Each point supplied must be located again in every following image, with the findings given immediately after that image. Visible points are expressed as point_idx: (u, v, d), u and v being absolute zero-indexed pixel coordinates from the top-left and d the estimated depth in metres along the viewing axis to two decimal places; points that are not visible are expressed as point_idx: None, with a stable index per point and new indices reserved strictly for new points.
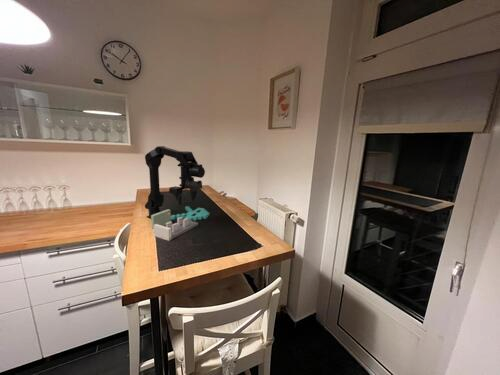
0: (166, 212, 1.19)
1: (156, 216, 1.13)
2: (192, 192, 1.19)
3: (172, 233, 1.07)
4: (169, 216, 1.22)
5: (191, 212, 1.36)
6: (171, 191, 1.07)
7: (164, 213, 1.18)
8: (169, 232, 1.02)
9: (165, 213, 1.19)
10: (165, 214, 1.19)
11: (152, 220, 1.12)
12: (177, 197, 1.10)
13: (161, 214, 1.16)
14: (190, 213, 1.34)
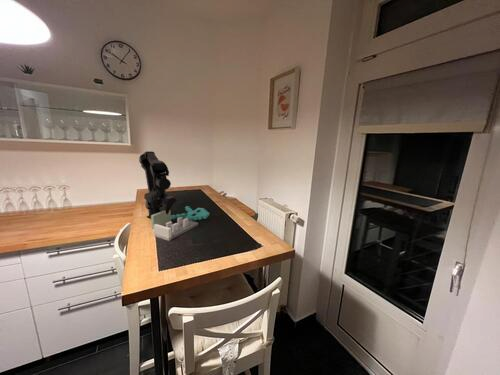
0: None
1: (156, 216, 1.13)
2: None
3: (172, 233, 1.07)
4: (169, 216, 1.22)
5: (191, 212, 1.36)
6: None
7: (164, 213, 1.18)
8: (169, 232, 1.02)
9: (165, 213, 1.19)
10: (165, 214, 1.19)
11: (152, 220, 1.12)
12: None
13: (161, 214, 1.16)
14: (190, 213, 1.34)
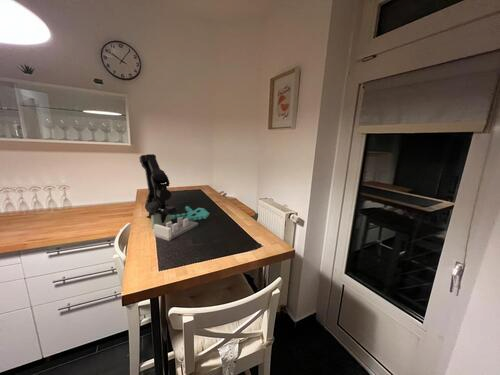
0: None
1: (156, 216, 1.13)
2: None
3: (172, 233, 1.07)
4: (169, 216, 1.22)
5: (191, 212, 1.36)
6: None
7: None
8: (169, 232, 1.02)
9: None
10: None
11: (152, 220, 1.12)
12: None
13: None
14: (190, 213, 1.34)
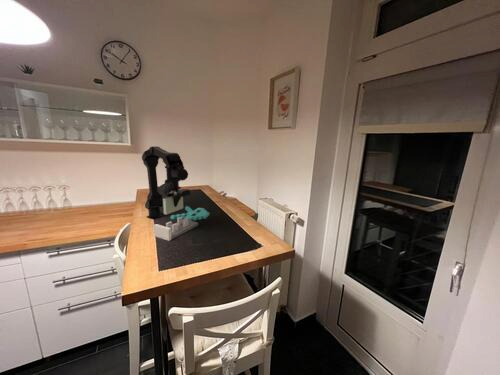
0: None
1: (168, 200, 1.06)
2: None
3: (172, 233, 1.07)
4: (181, 201, 1.15)
5: (191, 212, 1.36)
6: None
7: None
8: (169, 232, 1.02)
9: None
10: None
11: (164, 204, 1.05)
12: None
13: (173, 198, 1.09)
14: (190, 213, 1.34)
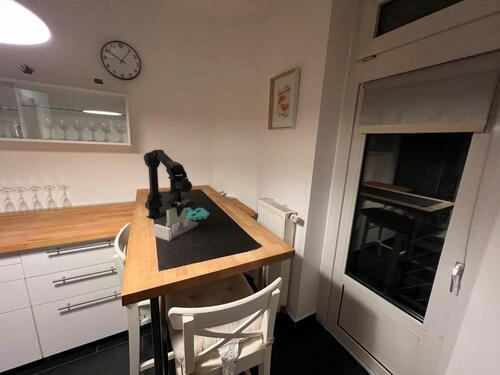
0: None
1: (172, 211, 1.07)
2: None
3: (172, 233, 1.07)
4: (184, 211, 1.16)
5: (191, 212, 1.36)
6: None
7: None
8: (169, 232, 1.02)
9: None
10: None
11: (168, 215, 1.06)
12: None
13: None
14: (190, 213, 1.35)
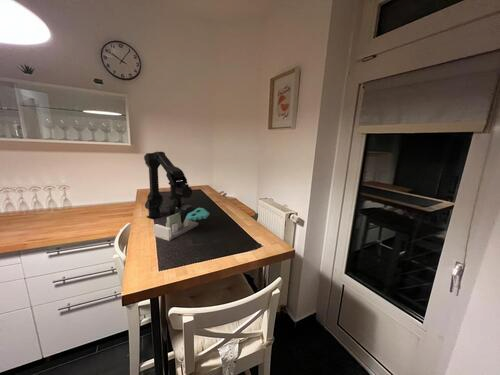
0: None
1: (172, 218, 1.08)
2: None
3: (172, 233, 1.07)
4: None
5: (191, 212, 1.36)
6: None
7: (180, 215, 1.13)
8: (169, 232, 1.02)
9: None
10: None
11: (168, 222, 1.07)
12: None
13: (177, 216, 1.11)
14: (190, 213, 1.34)
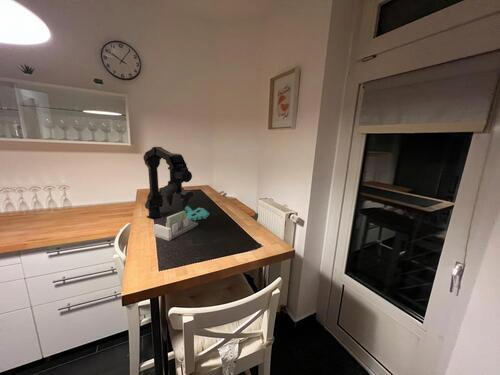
0: (182, 214, 1.14)
1: (172, 218, 1.08)
2: None
3: (172, 233, 1.07)
4: (184, 218, 1.16)
5: (191, 212, 1.36)
6: None
7: (180, 215, 1.13)
8: (169, 232, 1.02)
9: (181, 215, 1.13)
10: (181, 216, 1.14)
11: (168, 222, 1.07)
12: None
13: (177, 216, 1.11)
14: (190, 213, 1.35)
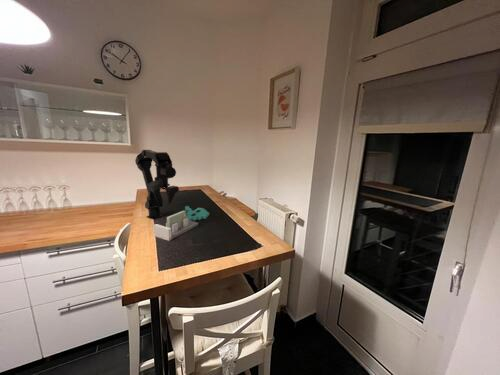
0: (182, 214, 1.14)
1: (172, 218, 1.08)
2: None
3: (172, 233, 1.07)
4: (184, 218, 1.16)
5: (191, 212, 1.36)
6: None
7: (180, 215, 1.13)
8: (169, 232, 1.02)
9: (181, 215, 1.13)
10: (181, 216, 1.14)
11: (168, 222, 1.07)
12: None
13: (177, 216, 1.11)
14: (190, 213, 1.35)
